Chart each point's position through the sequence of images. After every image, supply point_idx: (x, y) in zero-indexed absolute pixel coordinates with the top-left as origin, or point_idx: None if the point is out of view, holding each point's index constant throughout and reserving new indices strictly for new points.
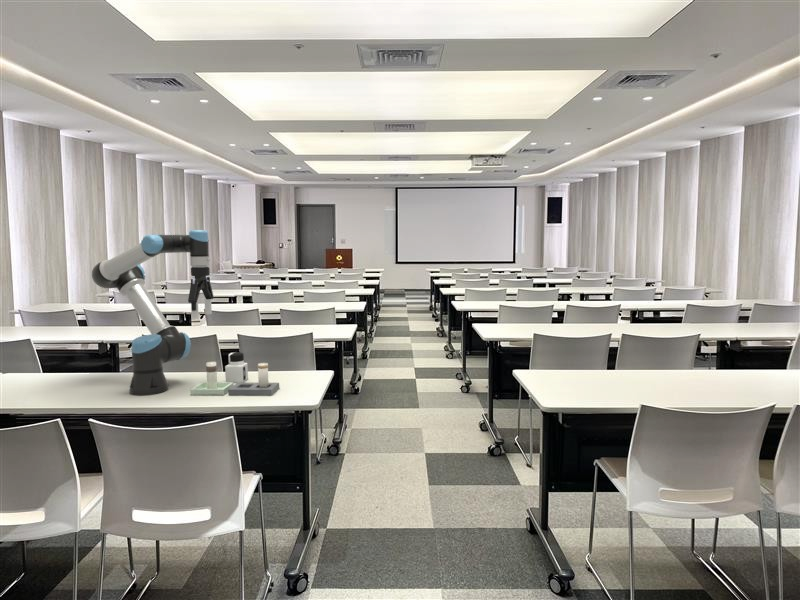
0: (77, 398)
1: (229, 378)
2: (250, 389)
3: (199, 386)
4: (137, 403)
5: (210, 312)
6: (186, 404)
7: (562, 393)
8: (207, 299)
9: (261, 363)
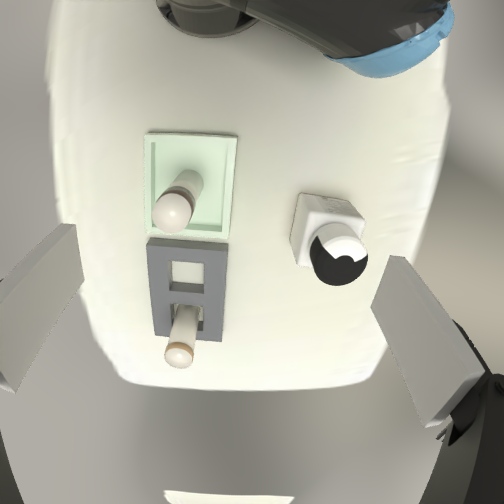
0: None
1: (298, 209)
2: (152, 296)
3: (197, 143)
4: (80, 31)
5: (378, 313)
6: (70, 161)
7: (202, 499)
8: (446, 403)
9: (182, 356)
